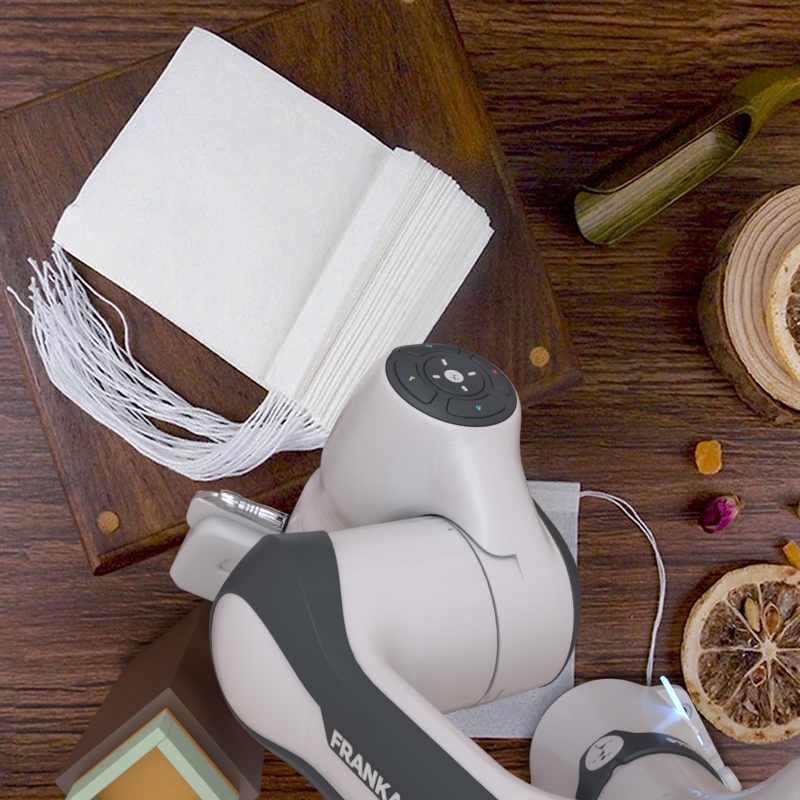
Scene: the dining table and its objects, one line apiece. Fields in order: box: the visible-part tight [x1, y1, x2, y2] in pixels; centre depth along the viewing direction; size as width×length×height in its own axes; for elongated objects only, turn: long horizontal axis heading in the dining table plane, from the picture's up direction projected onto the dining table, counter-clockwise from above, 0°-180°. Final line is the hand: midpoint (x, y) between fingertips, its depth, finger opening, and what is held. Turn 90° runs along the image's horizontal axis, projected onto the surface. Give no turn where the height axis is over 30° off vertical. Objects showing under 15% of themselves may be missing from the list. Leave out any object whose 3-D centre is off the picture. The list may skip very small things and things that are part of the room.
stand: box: [53, 599, 266, 800], centre depth 75 cm, size 9×9×26 cm
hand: (295, 652), depth 70 cm, fingers closed on pill bottle, 4 cm apart
